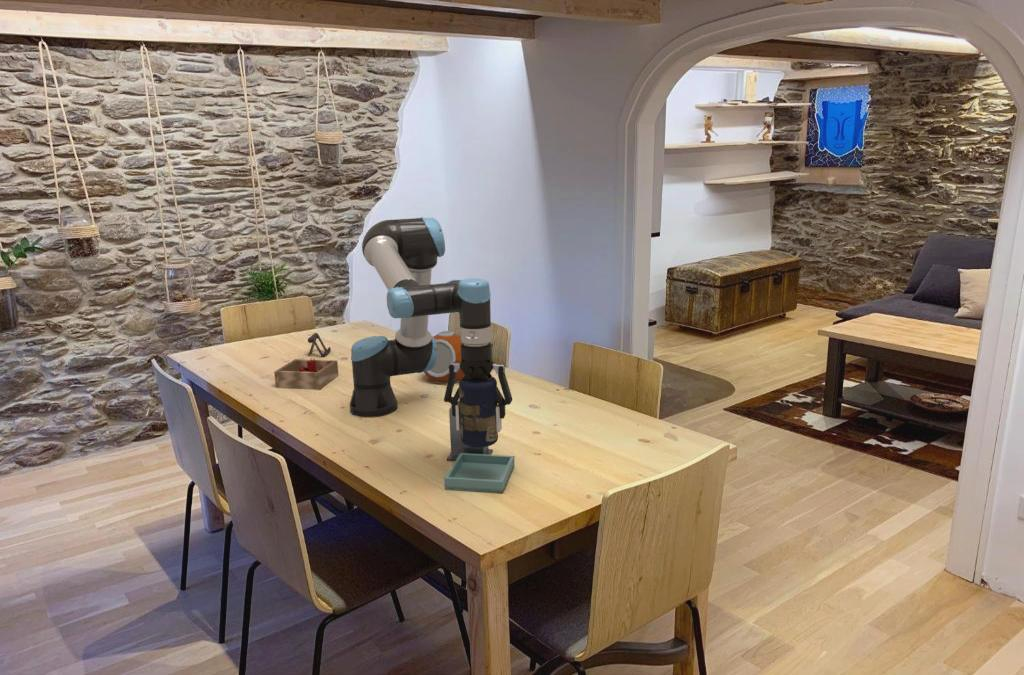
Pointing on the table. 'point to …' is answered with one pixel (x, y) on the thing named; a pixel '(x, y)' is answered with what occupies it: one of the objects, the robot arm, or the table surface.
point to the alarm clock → (446, 357)
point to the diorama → (309, 367)
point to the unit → (457, 443)
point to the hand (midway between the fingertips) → (479, 429)
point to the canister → (478, 412)
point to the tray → (480, 473)
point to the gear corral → (306, 375)
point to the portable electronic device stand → (313, 341)
